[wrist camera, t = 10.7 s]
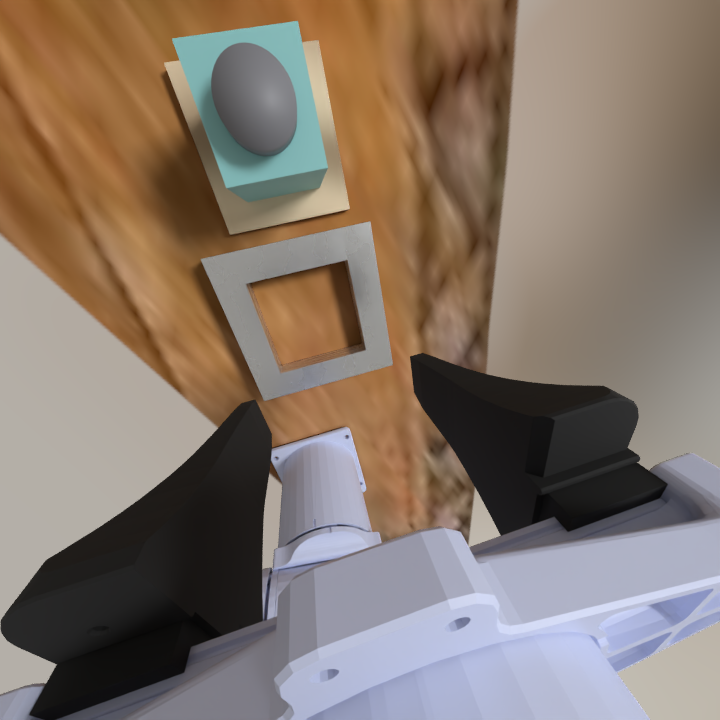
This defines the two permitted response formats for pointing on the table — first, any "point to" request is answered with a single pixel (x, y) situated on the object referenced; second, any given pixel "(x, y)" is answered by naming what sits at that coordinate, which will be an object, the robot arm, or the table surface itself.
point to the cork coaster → (278, 208)
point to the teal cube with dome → (256, 108)
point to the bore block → (288, 257)
